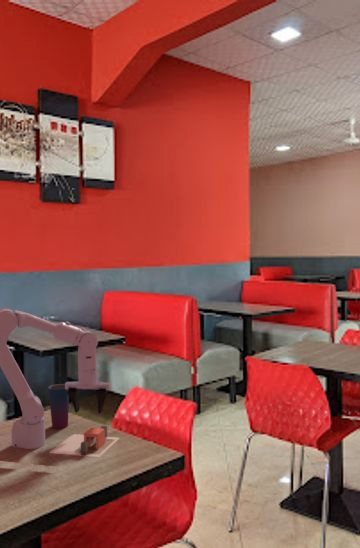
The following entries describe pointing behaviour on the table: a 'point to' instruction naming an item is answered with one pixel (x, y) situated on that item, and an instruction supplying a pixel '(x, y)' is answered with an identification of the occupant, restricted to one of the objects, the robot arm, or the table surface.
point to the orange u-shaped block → (96, 433)
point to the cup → (59, 405)
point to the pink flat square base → (80, 445)
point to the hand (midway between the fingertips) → (88, 411)
